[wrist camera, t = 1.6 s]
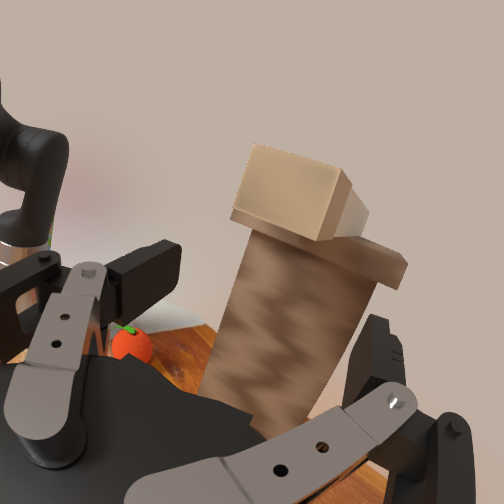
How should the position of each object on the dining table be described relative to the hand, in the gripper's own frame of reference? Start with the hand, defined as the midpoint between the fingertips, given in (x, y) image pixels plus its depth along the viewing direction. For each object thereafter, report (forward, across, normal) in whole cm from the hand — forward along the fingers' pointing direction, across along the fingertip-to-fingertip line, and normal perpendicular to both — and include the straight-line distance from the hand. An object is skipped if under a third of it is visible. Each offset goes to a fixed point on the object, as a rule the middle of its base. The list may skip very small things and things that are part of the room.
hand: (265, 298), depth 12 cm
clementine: (+17, +23, +33) cm, 43 cm away
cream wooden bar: (+14, -1, 0) cm, 14 cm away
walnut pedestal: (+10, 0, +32) cm, 34 cm away
